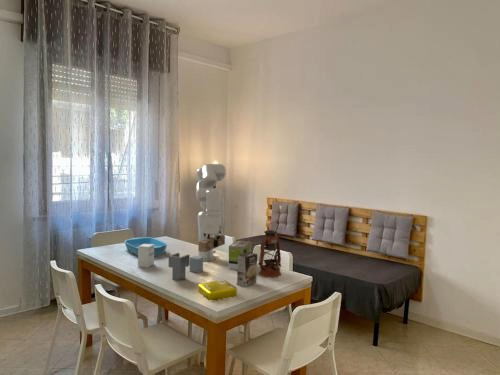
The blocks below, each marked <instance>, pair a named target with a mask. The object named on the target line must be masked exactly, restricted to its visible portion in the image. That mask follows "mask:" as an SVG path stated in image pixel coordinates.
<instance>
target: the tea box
mask: <svg viewBox="0 0 500 375" xmlns="http://www.w3.org/2000/svg"><path fill="white" fill-rule="evenodd" d="M248 252H249V253H252V241H246V240H245V241H244V240H236V241H234V242H232V243H231V244H229V245H228V270H233V271H237V270H238V255H240V254H244V253H248Z"/></svg>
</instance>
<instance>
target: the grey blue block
mask: <svg viewBox="0 0 500 375" xmlns="http://www.w3.org/2000/svg"><path fill="white" fill-rule="evenodd" d="M203 270H204V261H203V257H199V256H198V255H194V256H191V257H190V258H189V272H192V273H197V274H199V273H201V272H203Z"/></svg>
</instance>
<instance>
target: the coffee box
mask: <svg viewBox="0 0 500 375" xmlns="http://www.w3.org/2000/svg"><path fill="white" fill-rule="evenodd" d="M236 272H237V274H236V275H237V278H236V285H237V286H240V287H243V288H247V287H250V286H253V285H255V284H257V275H258V273H257V272H258V254H257V253H253V252H251V253H249V252H248V253H244V254H240V255H238V270H236Z"/></svg>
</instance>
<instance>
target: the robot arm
mask: <svg viewBox="0 0 500 375" xmlns="http://www.w3.org/2000/svg"><path fill="white" fill-rule="evenodd" d="M195 174H196V180H197V183H196V185H195V186H196V187H195V196H196V199H197V202H199V206H200V208H202V209H204V210H201V211H200V212H198V214H197V224H198V242H199V241H202V240H205V239H207V238H210V237H213V236H214V237H215V240H214V249H212V250H209V251H207V252H201V251H199V243H198V245H197V246H198V249H197V251H198V254H197V256H199V257H203V262H204V261H205V262H209V261H214V260H215V259H216V256H215V255H214V254H215V253H216V248H219V247H218V240H219V239H220V238H221V237H222V236H224V235H225V234H224V232H223V225H224V223H225V198H224V196H223V191H222V190H221V189H220V188H216V187H215V186H216V185H217V183H218V182H222V181H223V180H224V179H225V178H226V174H227V169H226V167H225V165H224V164H221V163H206V164H205V165H203V166H202V167H201V168H197V170H196V173H195ZM215 247H216V248H215Z"/></svg>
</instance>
